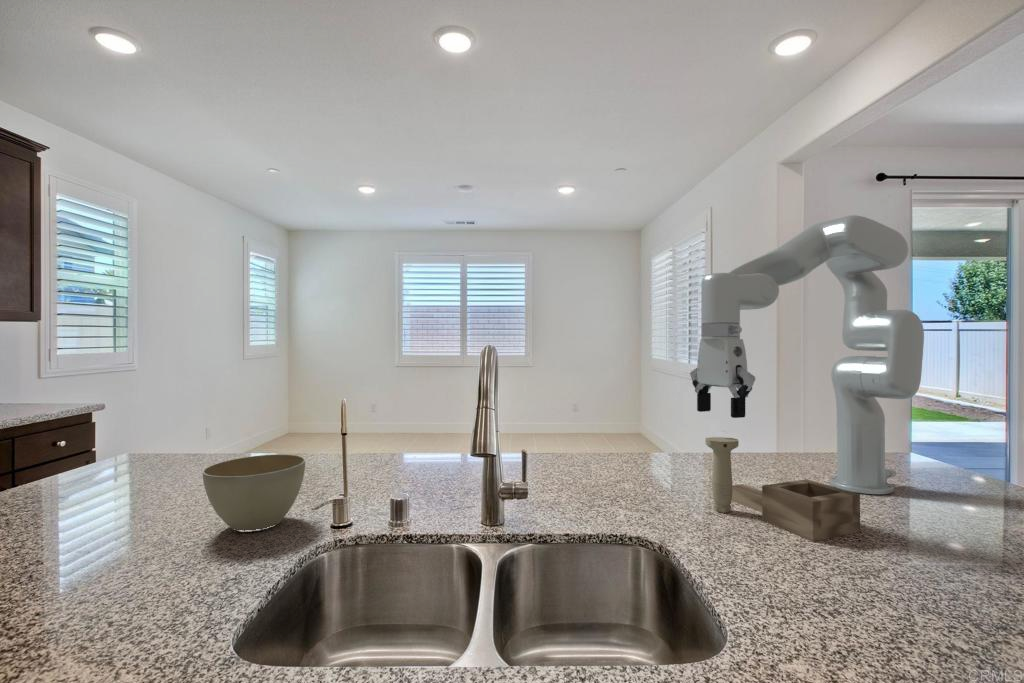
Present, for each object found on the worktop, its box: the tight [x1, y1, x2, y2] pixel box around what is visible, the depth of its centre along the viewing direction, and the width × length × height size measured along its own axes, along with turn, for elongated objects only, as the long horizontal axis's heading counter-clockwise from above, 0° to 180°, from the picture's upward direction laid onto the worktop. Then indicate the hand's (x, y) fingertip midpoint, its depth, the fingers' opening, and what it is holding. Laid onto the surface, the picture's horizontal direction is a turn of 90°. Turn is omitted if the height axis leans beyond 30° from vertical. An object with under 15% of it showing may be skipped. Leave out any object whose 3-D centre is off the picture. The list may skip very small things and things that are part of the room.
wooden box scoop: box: [732, 479, 861, 542], centre depth 102 cm, size 12×24×7 cm, turn 20°
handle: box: [705, 436, 740, 514], centre depth 105 cm, size 5×6×15 cm
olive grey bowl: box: [202, 453, 306, 531], centre depth 99 cm, size 18×18×12 cm
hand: (720, 414), depth 105 cm, fingers open, 9 cm apart
